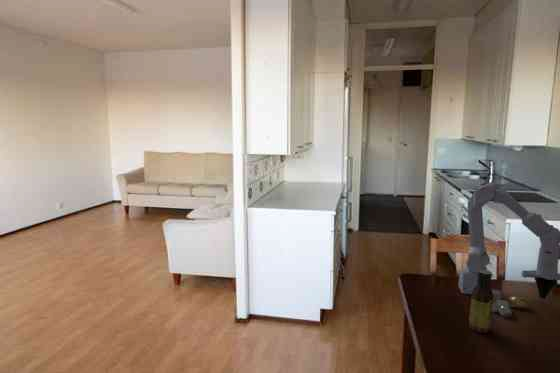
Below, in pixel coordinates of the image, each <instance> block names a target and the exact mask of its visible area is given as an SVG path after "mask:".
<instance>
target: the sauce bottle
mask: <svg viewBox="0 0 560 373" xmlns="http://www.w3.org/2000/svg"><path fill="white" fill-rule="evenodd" d="M492 277H493V273H492V272H491V271H489V270H488V269H487V270H478V281H477V285H476V286H475V287H474V288H473V292H472V294H471V299H470V301H471V302H470V310H469V320H468V322H469V323H468V326H469V328H470V329H471V330H473V331H474V332H477V333H482V334H486V333H488V332H489V331H490V328H491V323H492V315H493V314H492V313H493V312H492V306H493V293H492V290H493V288H492V286H491V284H492V283H491V280H492Z"/></svg>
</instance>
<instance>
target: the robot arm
mask: <svg viewBox="0 0 560 373" xmlns="http://www.w3.org/2000/svg"><path fill="white" fill-rule="evenodd" d="M492 200H493V201H492ZM491 201H492V203H494V204H495V203H496V204H502V205H504V206H505V207H506V208H508V209H509V210H510V211H512V213H514V214H515V215H517V216H518V217H519V218H520V219H521V224H522V225H523V226H524V227H526V228H527V230H529V231H530V232H531V233H533V234H534V235H535V236H536V237H538V238H539V242H540V247H539V251H538V257H537V263H536V269H535V270H532V269H531V270H524V269H523V270H521V277H523V278H532V279H534V281H535V283H536V286H537V289H538V297H539V298H540V299H544V300H546V299H547V296H548V295H549V292H550V291H551V290H552V289H553V288H554V287H555V286H556V281H560V272H557V269H558V261H559V257H560V256H559V255H560V229H559V228H557V227H555V226H554V225H553V224H549V223H548V222H547V221H546V220H544V219H543V218H542V217H543V215H542V214H537V213H536V212H530V211H528V210H527V208H525V207H524V206H523V205H522V204H521V203H520V202H519V201H517V200H516V199H515V198H514V197H513V196H512V195H511V194H510V193H509V192H508V191H507V190H506V189H505V188H503V187H501V186H500V185H499V184H498V183H496V182H488V183H485V184H484V185H480V186H478V187H477V188H476V189H475V190H474V191H473V193H472V195H471V196H470V198H469V200H468V201H467V220H468V235H469V250H468V254H467V255H468V256H467V259H466V264H465V265H466V267H465V268H464V267H463V268H460V269H459V270H460V271H459V276H458V284H457V285H458V288H459V290H460V291H461V293H462V294H467V295H468V294H469V295H472V292H473V288H474V287H475V286H476V285H477V281H478V270H487V271H488V269H487V266H489V264H490V261H491V260H490V258H491V257H490V256H489V254H488V250H487V248H486V245H485V234H484V233H485V232H484V230H485V229H484V216H483V214H484V213H483V207H484V206H485V205H486V204H487V203H489V202H491Z"/></svg>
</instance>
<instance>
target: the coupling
mask: <svg viewBox="0 0 560 373" xmlns="http://www.w3.org/2000/svg"><path fill="white" fill-rule="evenodd" d="M507 302H508V304H509V308H517V309H524V310H525V309H527V308H528V299H527V298H526V297H522V296H514V295H509V296H508V299H507Z"/></svg>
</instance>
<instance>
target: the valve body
mask: <svg viewBox="0 0 560 373" xmlns="http://www.w3.org/2000/svg"><path fill="white" fill-rule="evenodd" d="M492 293H493V306H492V313H499V314H500V315H501V317H502V318H509V317H511V316H512V313H513V311H512V310H511V307H510V306H509V304H508V300H503V299H502V292H501V291H500V290H496V289H492Z"/></svg>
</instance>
